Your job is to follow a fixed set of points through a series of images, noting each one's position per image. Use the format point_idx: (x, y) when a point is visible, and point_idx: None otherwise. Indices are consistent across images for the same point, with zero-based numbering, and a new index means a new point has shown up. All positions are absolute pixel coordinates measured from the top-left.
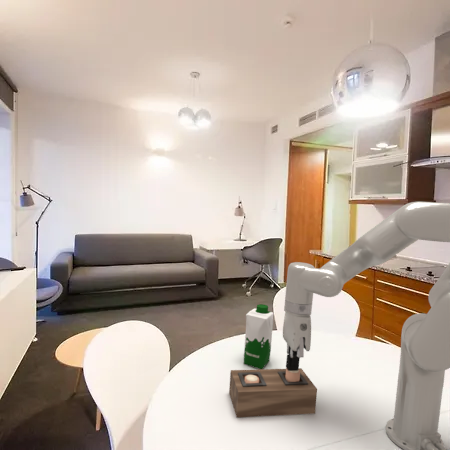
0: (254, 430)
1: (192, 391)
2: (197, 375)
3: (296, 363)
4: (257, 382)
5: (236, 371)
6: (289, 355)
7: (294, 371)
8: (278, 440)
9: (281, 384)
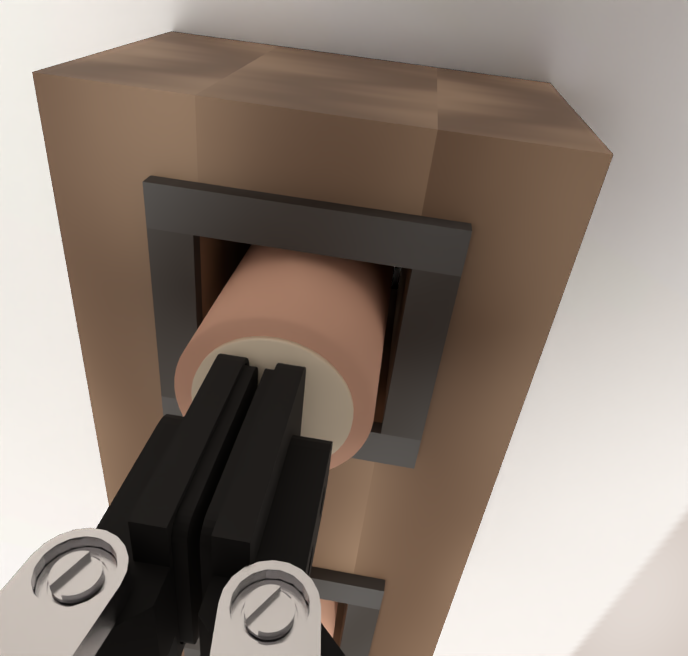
0: (541, 532)
1: None
2: None
3: (318, 514)
4: (323, 610)
5: None
6: (175, 637)
7: (325, 419)
8: (673, 470)
9: (386, 477)
